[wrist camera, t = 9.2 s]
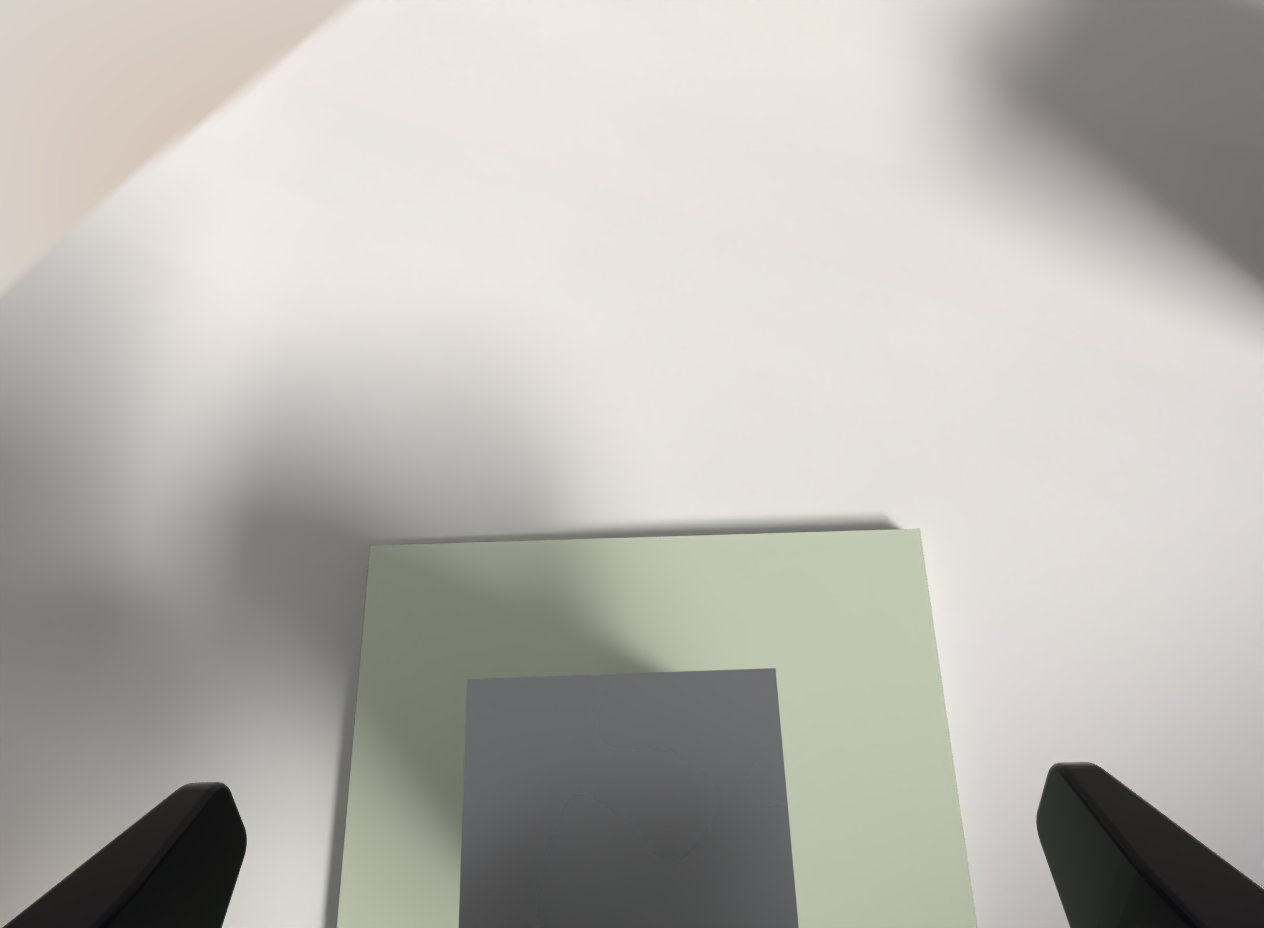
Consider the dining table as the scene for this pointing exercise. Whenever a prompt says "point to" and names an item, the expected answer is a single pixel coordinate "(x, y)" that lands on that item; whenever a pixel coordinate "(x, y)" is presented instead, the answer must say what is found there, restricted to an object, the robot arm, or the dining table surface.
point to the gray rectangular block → (626, 802)
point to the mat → (668, 642)
